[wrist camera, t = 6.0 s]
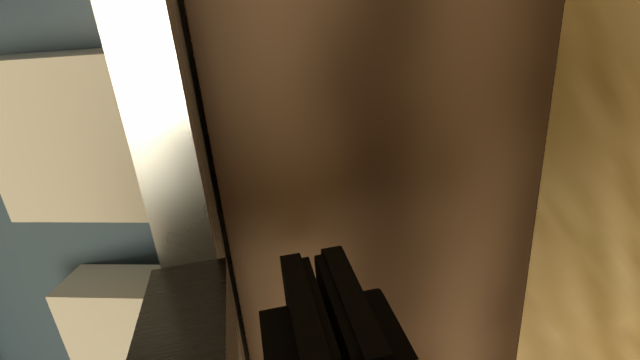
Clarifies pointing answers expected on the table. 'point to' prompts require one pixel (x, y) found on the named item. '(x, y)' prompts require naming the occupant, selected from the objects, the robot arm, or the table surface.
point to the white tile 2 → (99, 309)
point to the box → (66, 237)
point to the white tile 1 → (64, 141)
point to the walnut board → (384, 152)
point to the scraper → (170, 185)
